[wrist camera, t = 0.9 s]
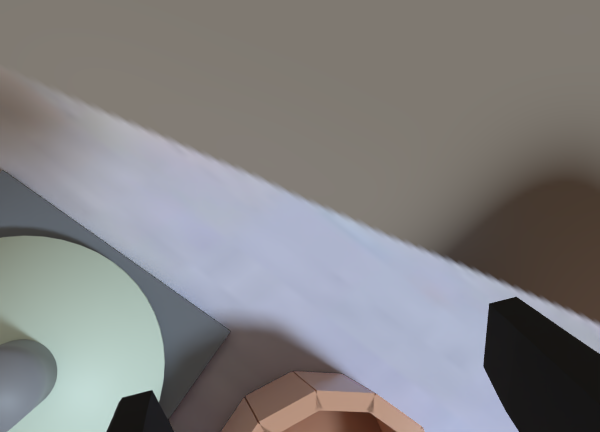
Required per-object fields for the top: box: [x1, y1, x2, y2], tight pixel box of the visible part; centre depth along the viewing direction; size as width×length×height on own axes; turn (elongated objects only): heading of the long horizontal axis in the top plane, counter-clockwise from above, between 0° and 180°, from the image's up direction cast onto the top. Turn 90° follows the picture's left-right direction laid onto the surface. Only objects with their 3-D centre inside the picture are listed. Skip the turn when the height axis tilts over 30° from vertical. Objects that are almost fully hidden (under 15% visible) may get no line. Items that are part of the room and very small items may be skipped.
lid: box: [0, 236, 165, 432], centre depth 19 cm, size 12×12×5 cm
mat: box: [0, 170, 230, 419], centre depth 22 cm, size 13×13×1 cm
